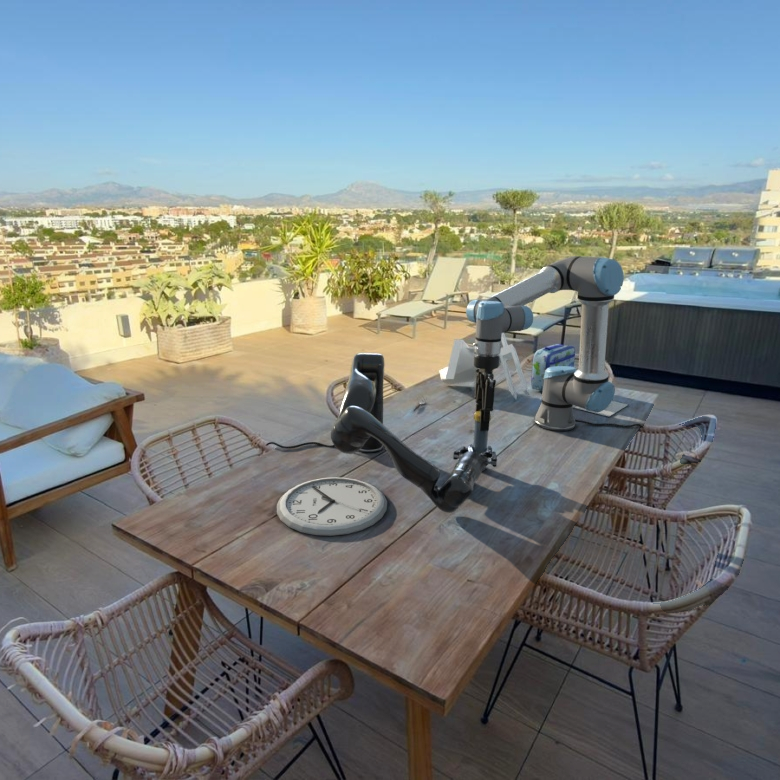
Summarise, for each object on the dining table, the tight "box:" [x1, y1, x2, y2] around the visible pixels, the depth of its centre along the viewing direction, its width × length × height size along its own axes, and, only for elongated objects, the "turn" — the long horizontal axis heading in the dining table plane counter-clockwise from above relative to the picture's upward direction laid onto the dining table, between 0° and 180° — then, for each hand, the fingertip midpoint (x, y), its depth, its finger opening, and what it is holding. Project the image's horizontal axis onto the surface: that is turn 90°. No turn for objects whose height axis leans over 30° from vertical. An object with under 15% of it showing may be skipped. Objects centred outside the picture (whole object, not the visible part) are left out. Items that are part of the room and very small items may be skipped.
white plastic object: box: [438, 333, 531, 400], centre depth 245 cm, size 37×45×31 cm
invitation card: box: [573, 400, 629, 418], centre depth 226 cm, size 21×1×15 cm
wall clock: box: [276, 476, 388, 537], centre depth 142 cm, size 30×2×30 cm
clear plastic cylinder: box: [473, 420, 489, 471], centre depth 164 cm, size 4×4×18 cm
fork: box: [413, 396, 428, 412], centre depth 222 cm, size 3×16×2 cm, turn 160°
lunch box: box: [530, 343, 576, 392], centre depth 248 cm, size 26×11×21 cm, turn 134°
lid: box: [473, 410, 492, 422], centre depth 161 cm, size 5×5×2 cm
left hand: (481, 447), depth 167 cm, fingers closed on clear plastic cylinder, 4 cm apart
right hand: (481, 426), depth 162 cm, fingers closed on lid, 5 cm apart
